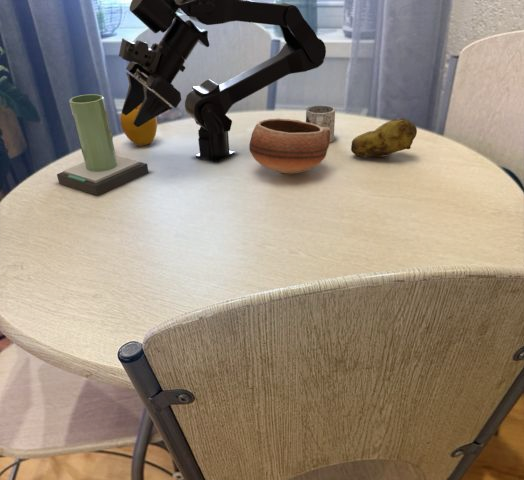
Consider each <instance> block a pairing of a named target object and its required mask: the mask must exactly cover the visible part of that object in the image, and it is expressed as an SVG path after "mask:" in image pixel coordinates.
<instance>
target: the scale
mask: <svg viewBox="0 0 524 480" xmlns="http://www.w3.org/2000/svg"><path fill="white" fill-rule="evenodd" d="M115 155H116V159H117V166H116V167H114V168H113V169H110V170H107V171H100V172H94V171H89V170H87V169H86V166H85V162H84V161H83V162H82V163H79V164H76V165H73V166H71V167H69V168H67V169H64V170H62V171H61V172H59V173H57V174H56V176H57V181H58V184H60V185H63V186H65V187H69V188H72V189H75V190H77V191H81V192H85V193H86V194H87V193H88V194H91V195H93V196H97V197H99V196H101V195H104V194H106V193H109V192H110V191H112V190H114V189H116V188H119V187H121V186H123V185H125V184H127V183H129V182H131V181H134V180H136V179H139V178H141V177H142V176H145V175H147V174H149V173H150V172H149V166H148V163H146V162H142V161H139V160H137V159H132V158H128V157H125V156H120V155H117V154H115Z"/></svg>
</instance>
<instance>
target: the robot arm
mask: <svg viewBox="0 0 524 480" xmlns="http://www.w3.org/2000/svg"><path fill="white" fill-rule="evenodd" d="M129 11H130V12H131V14H133V15H134V16H135V17H136V18H137V19H138V20H140V21H141V23H142V24H144V25H145V27H147V28H148V29H149V30H150V31H151V32H152V33H153V34H158V33H159V32H161V33H162V34H163V33H164V35H163V37H162V38H161V40H160V41H159V42H158V43H157V42H155V43H152V45H151V47H149V44H148V43H147V42H145V41H142V40H140V39H137V40H136V41H131V40H129V39H126V38H124V37H123V38H121V42H120V48H119V53H118V57H120V58H121V59H122V60H124V61H126V62H128V64H127V66H126V68H125V70H126V72H125V73H126V77H127V80H128V88H127V92H126V96H125V98H124V101H123V106H122V109H121V113H123V114H124V115H128V114H129V113H130V112H132V111H133V110H134V109H135V108H137V107H138V106H139V105H140V104H142V105H141V107H140V109H139V111H138V113H137V115H136V118H135V120H134V122H133V124H134V125H135V126H136V127H139V126H141V125H143V124H144V123H146V122H148V121H149V120H151V119H153V118H155V117H158V116H160V115H162V114H164V113H166V112H167V111H171V110H172V109H173V108H174V109H176V108H177V107H178V106H179V104H180V103H181V102H182V95H181V92H180V91H179V90H178V89H177V88H176V87H175V85H174V84H173V82H174V80H175V79H176V77H177V76H178V74H179V72H182V73H184V72H185V69H186V66H185V63H186V61H188V58H189V57H190V56H191V54H192V53H193V51H194V49H195V48H196V47H197V45H198V43H199V44H200V45H202V46H204V47H205V48H209V47H210V41H209V40H210V39H209V30H206V29H200V28H199V27H198V26H197V25H196V24H195V23H194V22H197V23H199V24H202V25H206V26H212V25H223V24H227V23H231V22H243V23H252V24H253V23H254V24H261V25H271V26H278V27H279V29H280V32H281V35H282V37H283V38H282V39H283V40H284V42H285V43H284V44H283V46H282V48H281V49H280V50H279V52H278V53H276V54H275V55H273V56H272V57H270V58H268V59H266V60H264V61H262V62H260V63H259V64H256V65H255V66H253V67H251V68H249V69H247V70H244V71H243V72H241V73H240V74H238V75H236V76H234V77H232V78H230V79H229V80H227V81H225V82H223V83H220V84H218V83H216V82H214V81H212V80H211V79H206V80H205V81H203V82H202V83H201V84H199V85H196V86H191V89H192V90H190V92H189V93H187V94H186V98H185V101H184V108H185V111H186V113H187V115H188V116H190V117H191V118H192V119H193V120H194V122H195V124H196V125H198V126H199V129H198V131H197V132H198V140H197V141H198V148H199V153H197V154H195V157H196V158H197V159H200V160H205V161H210V162H213V163H219V162H222V161H223V160H226V159H229V157H232V156H234V155H235V154H236V152H235V151H234V150H230V142H229V141H230V140H229V132H230V131H231V128H232V124H233V120H232V119H231V118H230V117H229V116H227V113H228V112H229V111H230V109H231V108H232V106H233V105H235V104H236V103H239V102H241V101H242V100H245V99H246V98H247V97H249V96H251V95H253V94H256V93H258V92H259V91H261V90H262V89H264V88H266V87H268V86H269V85H272V84H273V83H275V82H278V81H279V80H281V79H283V78H285V77H286V76H288V75H292V74H298V73H299V74H300V73H306V72H308V71H311V70H315V69H318V68H319V67H320V66H322V65H323V64H324V61H325V58H326V54H327V47H326V44H325V42H324V41H323V40H322V39H321V38H319V37H318V35H317V34H316V32H315V31H314V29H313V28H312V27H311V25H310V24H309V23H308V22H307V20H305V18H304V16H303V14H302V12H301V11H300V9H299V8H298V6H296V5H295V4H291V3H285V2H284V3H274V2H268V1H258V0H131V2H130V5H129ZM178 14H181V15H184V16H186V17H188V18H189V19H187V20H185V21H184V20H183V19H182V18H181V17H180V15H178ZM193 21H194V22H193ZM127 71H128V72H127Z"/></svg>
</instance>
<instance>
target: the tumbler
mask: <svg viewBox="0 0 524 480" xmlns="http://www.w3.org/2000/svg"><path fill="white" fill-rule="evenodd" d="M69 106H70V109H71V113H72V118H73V121H74V127H75V129H76V133H77V138H78V142H79V146H80V150H81V155H82V158H83V163H84V162H85V166H86V169H87V170H89V171H94V172H100V171H107V170H110V169H113V168H114V167H116V166H117V159H116V155H117V154H116V149H115V145H114V141H113V140H112V137H113V134H112V135H111V132H112V130H111V127H110V121H109V117H108V112H107V108H106V102H105V97H104V96H103V95H102V94H95V93H90V94H89V93H88V94H81V95H76V96H73V97H71V98H70V99H69ZM110 130H111V131H110Z"/></svg>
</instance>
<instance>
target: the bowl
mask: <svg viewBox="0 0 524 480" xmlns="http://www.w3.org/2000/svg"><path fill="white" fill-rule="evenodd" d="M330 143H331V142H330V129H329V128H328V127H321V126H318V125H316V124H312V123H308V122H306V121H302V120H298V119H290V118H268V119H263V120H259V121H258V122H257V123H256V124H255V126H254V128H253V130H252V133H251V136H250V140H249V147H248V149H249V152H250V154H251V156H252V157H253V159H254V160H255V161H256V163H259V164H260V165H261V166H263V167H265V168H266V169H268V170H272V171H274V172H277V173H281V174H298V173H299V174H300V173H303V172H306V171H308V170H311V169H313V168H314V167H316V166H318V165H319V164H321V163H322V162H323V161H324V159H326V156H327V154H328V149H329V147H330Z"/></svg>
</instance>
